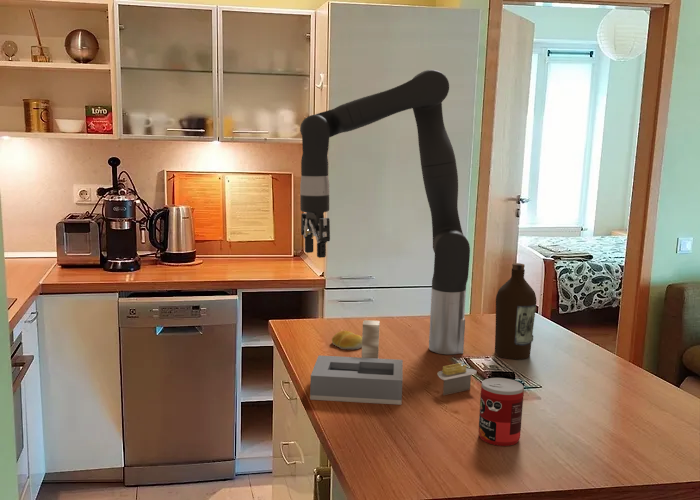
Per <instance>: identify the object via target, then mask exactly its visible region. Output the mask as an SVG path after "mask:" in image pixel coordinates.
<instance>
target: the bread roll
mask: <svg viewBox="0 0 700 500" xmlns="http://www.w3.org/2000/svg"><path fill="white" fill-rule="evenodd" d="M331 342H332V345H335V346H334V347H336V346H337V348H339V349H341V350H346V349H347V350H346V351H348V350H360V349H362V335H360V334H355V333H354V332H352V331H349V330H345V329H344V330H340V331H338V332H337V333H335V334H334V335H333V337H332V338H331Z"/></svg>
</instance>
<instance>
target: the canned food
mask: <svg viewBox="0 0 700 500" xmlns="http://www.w3.org/2000/svg"><path fill="white" fill-rule="evenodd" d="M524 387H525V386H524V385H523V384H522V383H521V382H519V381H517V380H514V379H512V378H505V377H490V378H486V379H484V380H482V381H481V386H480V399H479V400H480V401H479V416H478V435H479V437H480V439H481V440H482V441H483V442H485V443H487V444H490V445H493V446H497V447H498V446H499V447H511V446H514V445H516V444H517V443H518V442H519V441H520V440H521V439H520V438H521V432H522V431H521V430H522V418H523V417H522V416H523V407H524V406H523V404H524V394H525V393H524V389H525V388H524Z"/></svg>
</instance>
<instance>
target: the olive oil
mask: <svg viewBox="0 0 700 500" xmlns="http://www.w3.org/2000/svg"><path fill="white" fill-rule="evenodd" d="M525 274H526V273H525V264H524V263H520V262H519V263H518V262H516V263H515V262H514V263H512V267H511V276H510V278H509V279H508V280H507V281H506V282H505V283H503V284H502V286H501V287H499V288H498V290H497V292H496V296H495V328H494V329H495V330H494V334H495V337H494V354H495V355H496V356H498V357H501V358H503V359H509V360H526V359H529V358H530V357H531V348H532V343H533V341H534V334H533V332H534V325H535V317H536V310H537V296H536V295H537V294H536V293H535V290H534V289H533V288H532V287H531V285H530V284H529V282H527V281H526V279H525Z"/></svg>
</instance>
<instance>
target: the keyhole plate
mask: <svg viewBox="0 0 700 500" xmlns="http://www.w3.org/2000/svg"><path fill="white" fill-rule="evenodd" d="M403 361H404V360H403V359H395V358H394V359H393V358H378V359H377V358H362V357H359V356H358V357H356V356H354V357H353V356H336V355H318V356H317V358H316V361H315V364H314V366H313V370H312V371H311V374H310V389H309V390H310V392H309V396H310V397H309V399H310V400H313V401H329V402H330V401H331V402H333V401H334V402H347V403H349V402H351V403H362V404H363V403H365V404H379V405H380V404H383V405H384V404H385V405H399V406H400V405H402V402H403V400H402V399H403V382H404V379H403V365H404V364H403Z"/></svg>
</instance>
